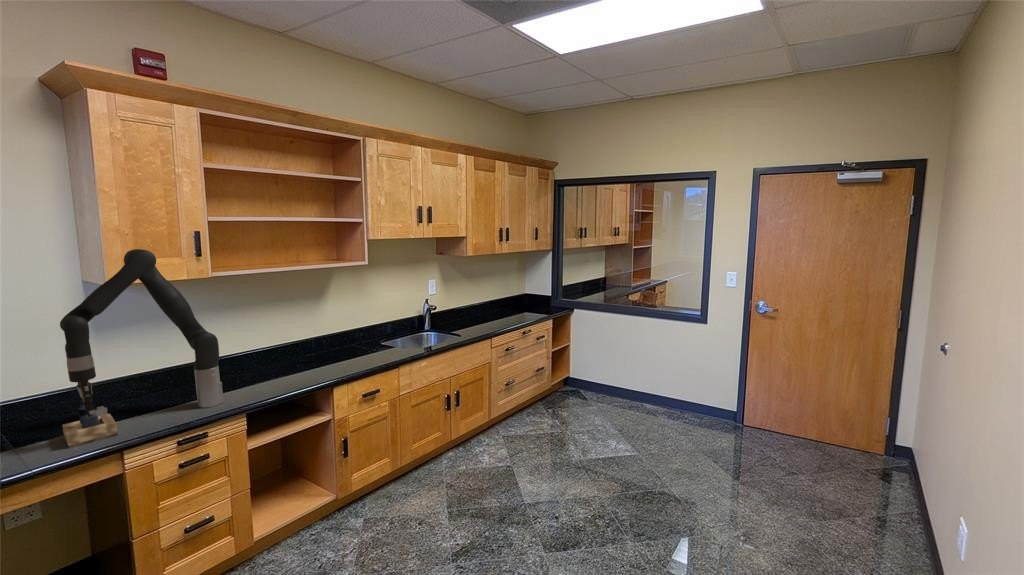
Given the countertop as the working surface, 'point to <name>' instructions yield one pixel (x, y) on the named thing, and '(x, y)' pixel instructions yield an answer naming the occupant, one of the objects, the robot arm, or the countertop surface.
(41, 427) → the countertop surface
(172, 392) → the countertop surface
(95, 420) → the vaping device
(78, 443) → the block
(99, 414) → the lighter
